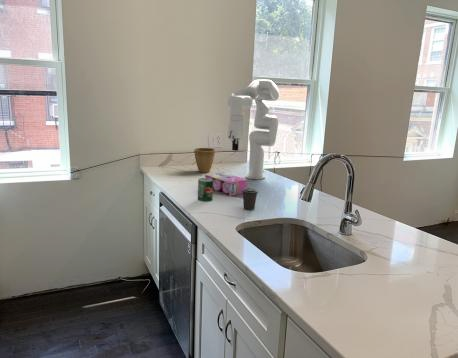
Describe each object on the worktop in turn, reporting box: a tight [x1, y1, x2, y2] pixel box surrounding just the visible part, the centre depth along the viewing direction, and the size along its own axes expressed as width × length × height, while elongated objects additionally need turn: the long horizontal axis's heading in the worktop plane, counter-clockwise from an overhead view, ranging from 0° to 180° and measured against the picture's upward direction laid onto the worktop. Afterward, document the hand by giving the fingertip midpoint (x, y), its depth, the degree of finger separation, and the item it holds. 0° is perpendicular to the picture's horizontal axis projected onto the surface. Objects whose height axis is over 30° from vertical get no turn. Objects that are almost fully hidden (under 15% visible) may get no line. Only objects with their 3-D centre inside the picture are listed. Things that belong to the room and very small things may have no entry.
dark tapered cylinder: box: [242, 187, 259, 211], centre depth 189 cm, size 8×8×10 cm
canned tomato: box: [197, 177, 214, 203], centre depth 201 cm, size 8×8×11 cm
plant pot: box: [193, 147, 216, 174], centre depth 268 cm, size 15×15×16 cm
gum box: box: [204, 171, 249, 197], centre depth 222 cm, size 24×8×14 cm
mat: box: [213, 190, 243, 199], centre depth 219 cm, size 14×24×1 cm, turn 60°
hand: (235, 150), depth 220 cm, fingers closed
